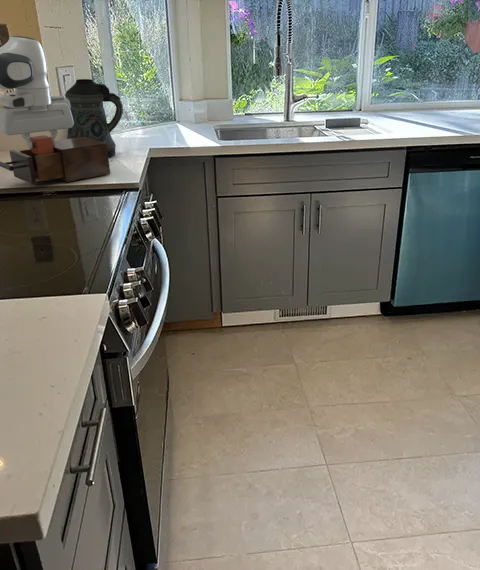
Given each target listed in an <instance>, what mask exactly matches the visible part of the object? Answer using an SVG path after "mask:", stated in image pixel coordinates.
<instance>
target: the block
mask: <svg viewBox="0 0 480 570" xmlns="http://www.w3.org/2000/svg"><path fill="white" fill-rule="evenodd" d="M28 138H29V139H30V140H31V141H32V142H35V147H36V148H33V149H31V151H32V153H34V154H37V155H43V154H50V153H54V150H53V143H52V138H51V137H50V136H48V135H45V134H44V135H43V134H42V135H35V136H30V137H28Z"/></svg>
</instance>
